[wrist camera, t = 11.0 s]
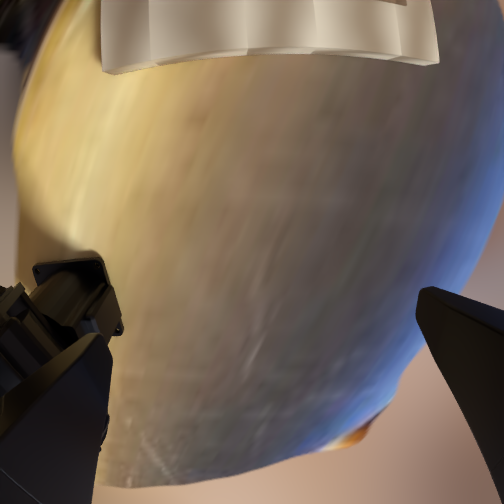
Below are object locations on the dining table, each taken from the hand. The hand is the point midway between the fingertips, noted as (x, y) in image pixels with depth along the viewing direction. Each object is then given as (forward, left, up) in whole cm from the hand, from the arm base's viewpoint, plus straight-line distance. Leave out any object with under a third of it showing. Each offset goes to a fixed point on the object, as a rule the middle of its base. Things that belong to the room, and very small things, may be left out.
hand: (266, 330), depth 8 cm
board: (+3, +16, -13) cm, 21 cm away
